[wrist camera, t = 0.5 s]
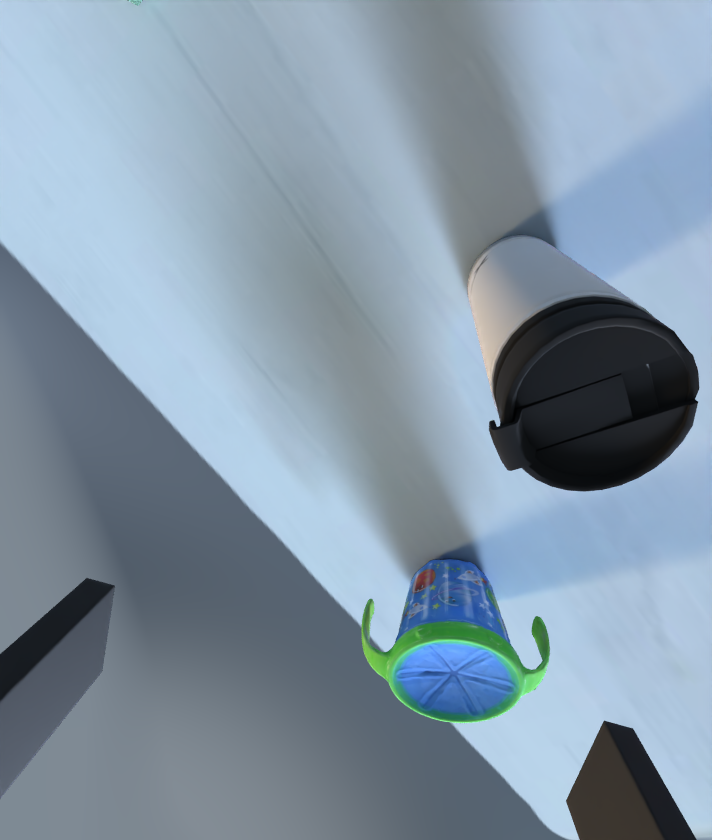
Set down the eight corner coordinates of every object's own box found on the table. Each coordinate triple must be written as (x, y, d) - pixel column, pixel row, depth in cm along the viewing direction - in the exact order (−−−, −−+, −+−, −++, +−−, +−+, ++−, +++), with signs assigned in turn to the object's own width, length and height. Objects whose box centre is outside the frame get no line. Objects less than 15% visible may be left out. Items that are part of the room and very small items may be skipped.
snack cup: (549, 558, 43) (579, 661, 34) (518, 635, 48) (537, 742, 39) (376, 527, 44) (361, 619, 35) (364, 606, 49) (348, 703, 40)
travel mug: (449, 261, 32) (463, 372, 15) (548, 217, 30) (704, 285, 13) (479, 343, 35) (523, 523, 17) (574, 307, 32) (734, 471, 15)
